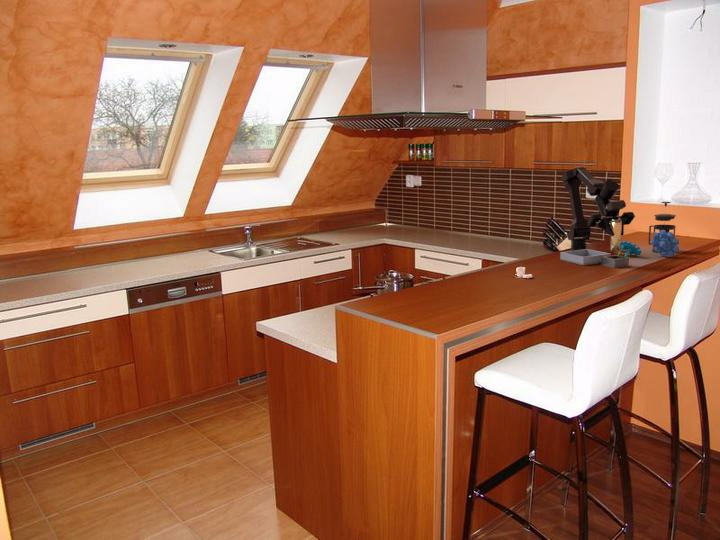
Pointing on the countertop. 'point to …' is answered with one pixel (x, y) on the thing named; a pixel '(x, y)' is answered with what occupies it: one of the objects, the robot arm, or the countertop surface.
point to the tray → (583, 256)
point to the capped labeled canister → (616, 235)
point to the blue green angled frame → (629, 249)
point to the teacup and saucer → (522, 272)
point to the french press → (662, 227)
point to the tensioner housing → (615, 261)
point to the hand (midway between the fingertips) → (617, 235)
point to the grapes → (665, 243)
